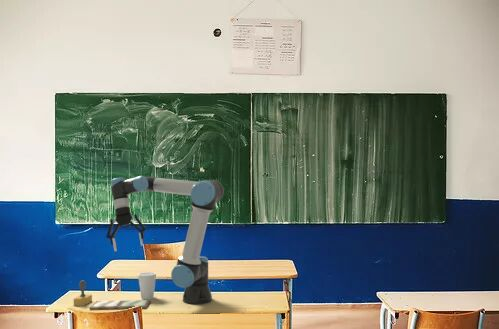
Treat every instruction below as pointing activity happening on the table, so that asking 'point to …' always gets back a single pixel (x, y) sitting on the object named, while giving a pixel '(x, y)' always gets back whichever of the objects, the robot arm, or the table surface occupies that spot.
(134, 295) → the table surface
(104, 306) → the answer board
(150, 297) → the foam cup
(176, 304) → the table surface
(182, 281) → the robot arm
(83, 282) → the rubber stamp
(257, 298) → the table surface
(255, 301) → the table surface
